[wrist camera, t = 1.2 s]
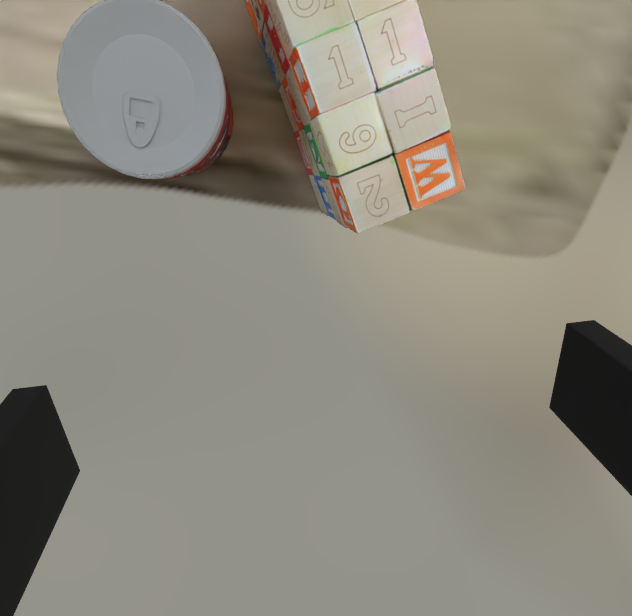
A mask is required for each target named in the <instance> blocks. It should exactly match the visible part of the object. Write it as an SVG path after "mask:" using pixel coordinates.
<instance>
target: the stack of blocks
mask: <svg viewBox="0 0 632 616" xmlns="http://www.w3.org/2000/svg"><path fill="white" fill-rule="evenodd" d="M245 3H246V6H247V9H248V11H249V14H250V17H251V19H252V22H253V25H254V28H255V30H256V33H257V36H258V39H259V41H260V43H261V44H262V46H263V49H264V52H265V55H266V57H267V60H268V63H269V65H270V68H271V71H272V74H273V77H274V79H275V82H276V85H277V87H278V89H279V92H280V95H281V98H282V100H283V103H284V106H285V109H286V111H287V114H288V117H289V120H290V122H291V125H292V128H293V130H294V136H295V139H296V142H297V145H298V147H299V150H300V153H301V156H302V158H303V161H304V164H305V167H306V170H307V172H308V175H309V179H310V181H311V184H312V187H313V190H314V193H315V195H316V198H317V201H318V204H319V206H320V209H321V211H322V212H323V213H325V214H326V215H328V216H330V217H332V218H334V219H335V220H336V221H337V222H338V223H339V224H341V225H342V226H344V227H346V228H350V229H351V230H353V231H354V232H356V233H361V232H364V231H366V230H368V229H371V228H373V227H376V226H378V225H381V224H383V223H386V222H388V221H391V220H393V219H396V218H399V217H401V216H404V215H406V214H408V213H409V211H410V210H417V209H420V208H423V207H425V206H427V205H430V204H432V203H435V202H437V201H440V200H442V199H444V198H447V197H449V196H451V195H454V194H456V193H459V192H461V191H463V190H465V184H464V179H463V176H462V172H461V168H460V165H459V161H458V157H457V153H456V150H455V146H454V142H453V138H452V135H451V133H450V132H449V130H450V128H451V123H450V120H449V116H448V112H447V109H446V106H445V102H444V98H443V94H442V91H441V87H440V84H439V80H438V77H437V74H436V71H435V69H434V68H433V67H432V65H433V63H434V58H433V55H432V51H431V47H430V44H429V41H428V37H427V34H426V30H425V27H424V23H423V20H422V16H421V12H420V9H419V5H418V2H417V0H245Z"/></svg>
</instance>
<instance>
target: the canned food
mask: <svg viewBox="0 0 632 616" xmlns="http://www.w3.org/2000/svg"><path fill="white" fill-rule="evenodd" d="M57 81H58V92H59V97H60V101H61V104H62V108H63V112H64V114H65V116H66V118H67V120H68V123H69V125H70V127H71V129H72V130H73V132H74V133H75V135H76V136H77V138H78V139H79V140H80V142H81V143H82V144H83V146H84V147H85V148H86V149H87V150H88V151H89V152H90V153H91V154H92V155H93V156H94V157H96V158H97V159H99V160H100V161H101V162H103V163H104V164H105V165H107V166H108V167H110V168H113V169H115V170H117V171H119V172H121V173H123V174H125V175H129V176H133V177H137V178H141V179H167V178H174V177H181V176H187V175H194V174H196V173H199V172H201V171H204V170H205V169H207V168H208V167H210V166H211V165H213V164H214V163H215V162H216V161H217V160H218V159H219V158H220V157H221V155H222V153H223V152H224V150H225V149H226V147H227V144H228V142H229V139H230V137H231V132H232V126H233V111H232V105H231V100H230V96H229V93H228V89H227V85H226V81H225V78H224V75H223V72H222V69H221V66H220V63H219V61H218V58H217V56H216V54H215V52H214V50H213V49H212V47H211V45H210V43H209V41H208V40H207V39H206V37H205V36H204V35H203V34H202V32H201V31H200V30H199V29H198V27H197V26H196V25H195V24H194V23H193V22H192V21H191V20H189V19H188V18H187V17H186V16H185V15H184V14H182V13H181V12H180V11H178V10H177V9H175V8H173V7H172V6H170V5H168V4H166V3H165V2H162V1H159V0H104V1H101V2H99V3H97V4H95V5H94V6H92V7H91V8H89V9H88V10H87V11H85V12H84V13H83V14H82V15H81V16H80V17H79V18H78V19H77V21H76V22H75V23H74V24H73V25H72V27H71V28H70V30H69V32H68V34H67V36H66V38H65V39H64V42H63V45H62V48H61V52H60V55H59V60H58V71H57Z"/></svg>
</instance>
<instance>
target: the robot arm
mask: <svg viewBox="0 0 632 616" xmlns="http://www.w3.org/2000/svg"><path fill="white" fill-rule="evenodd" d="M550 409H551V410H552V411H553V412H554V413H555V414H556V415H557V416H558V417H559V418H560V420H561V421H562V422H563V423H564V424H565V425H566V426H567V427H568V428H569V429H570V430H571V431H572V432H573V433H574V435H576V437H577V438H578V439H579V440H580V441H581V442H582V443H583V444H584V445H585V446H586V447H587V448H588V449H589V451H590V452H591V453H592V454H593V455H594V456H595V457H596V458H597V459H598V460H599V461H600V462H601V463H602V464H603V466H604V467H605V468H606V469H607V470H608V471H609V472H610V473H611V474H612V475H613V476H614V477H615V479H616V480H617V481H618V482H619V483H620V484H621V485H622V486H623V487H624V488H625V489H626V490H627V491H628V492H629V494H630V495H631V496H632V346H631V345H630V344H628V343H627V342H626V341H624V340H623V339H621V338H619V337H618V336H617V335H615V334H614V333H612V332H611V331H609V330H608V329H606V328H605V327H603V326H602V325H600V324H599V323H597V322H596V321H594V320H592V321H583V322H575V323H567V324H566V329H565V334H564V339H563V344H562V348H561V353H560V358H559V363H558V368H557V373H556V378H555V383H554V388H553V393H552V397H551V403H550ZM79 472H80V469H79V467H78V465H77V462H76V459H75V457H74V455H73V452H72V449H71V447H70V444H69V442H68V439H67V437H66V434H65V431H64V429H63V426H62V424H61V421H60V419H59V416H58V414H57V411H56V409H55V406H54V404H53V401H52V399H51V396H50V393H49V391H48V388H47V386H46V385H45V386H36V387H28V388H19V389H13V390H12V391H11V392H10V393H9V394H8V396H7V397H6V398H5V399H4V401H3V402H2V403H1V404H0V616H13V615H14V613H15V610H16V608H17V606H18V604H19V602H20V600H21V598H22V595H23V593H24V591H25V589H26V587H27V584H28V582H29V580H30V578H31V576H32V574H33V571H34V569H35V567H36V565H37V563H38V561H39V559H40V556H41V554H42V552H43V550H44V548H45V545H46V543H47V541H48V539H49V537H50V535H51V532H52V530H53V528H54V526H55V524H56V522H57V520H58V517H59V515H60V513H61V511H62V509H63V507H64V504H65V502H66V500H67V498H68V496H69V493H70V491H71V489H72V487H73V485H74V483H75V480H76V478H77V476H78V474H79Z"/></svg>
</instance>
